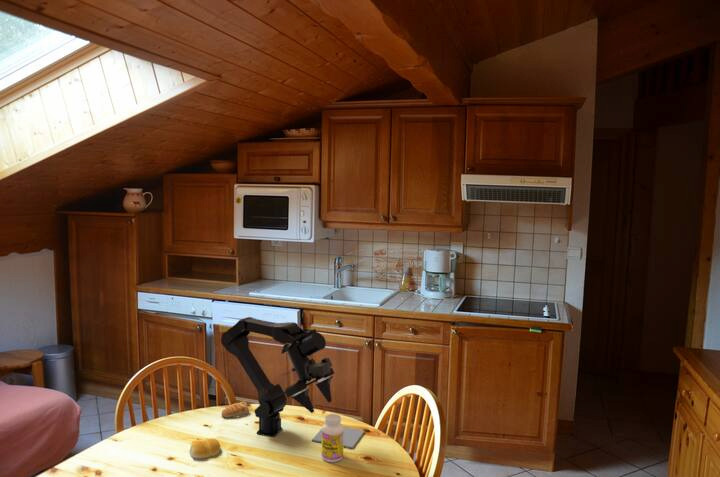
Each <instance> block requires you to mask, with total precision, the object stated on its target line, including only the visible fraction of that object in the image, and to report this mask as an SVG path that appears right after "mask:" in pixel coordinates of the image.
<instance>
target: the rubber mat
mask: <svg viewBox="0 0 720 477" xmlns="http://www.w3.org/2000/svg"><path fill="white" fill-rule="evenodd" d="M343 427H344V442H343V449H344V448H345V449H350V450H353V449H354V448H355V447H356V445H357V443H359V440H360V439H361V438H362V437H363V435H364V434H365V431H366V430H365V429H357V428H353V427H352V428H351V427H345V426H343ZM311 442H313V443H319V444H322V428H321V429H320V430H319V431H318V432H317V433H316V434H315V436H313V437H312V438H311Z"/></svg>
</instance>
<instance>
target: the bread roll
mask: <svg viewBox="0 0 720 477" xmlns="http://www.w3.org/2000/svg"><path fill="white" fill-rule="evenodd" d="M220 449H221V444H220V442H219V440H218V439H216V438H205V439H202V440H196V441H194V442H193V443H191V445H190V448H189V453H190V454H189V455H190V456H191V458H193V459H197V460H198V459H200V460H202V459H206V458H209V457H215V456H216V455H218V454H219V452H220Z"/></svg>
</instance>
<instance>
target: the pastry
mask: <svg viewBox="0 0 720 477" xmlns="http://www.w3.org/2000/svg"><path fill="white" fill-rule="evenodd" d="M249 413H250V409H249V406H248V404H247V402H246V401H240V402H236V403H233V404H231V405H229V406H227V407H226V408H224V409H223V410H222V412H221V416H222V417H224V418H226V419H231V418H238V417H243V415H244V416H246V415H248V414H249Z"/></svg>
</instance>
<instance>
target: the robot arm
mask: <svg viewBox="0 0 720 477" xmlns="http://www.w3.org/2000/svg"><path fill="white" fill-rule="evenodd" d="M251 333H255V334H259V335H263V336H268V337H271V338H272V339H273V340H274V341H275V342H277V343H280V344H282V345H283V348H282V349H281V354H283V355H284V354H286V353H287V355H288V358H289V360H290V361H291V364H292V367H293V368H291V371H292V373H296V375H297V377H298V380H296V383H293V384H291V385H289V386H288V387H285V390H284V389H283V388H282V385H280V384H279V383H277V384H273V383H272V382H271V381H270V379H269V378H268V376H267V375H266V373H265V372H264V369H263V368H262V367H261V366H260V364H259V362H258V360H257V359H256V358H255V356H254V354H253V352H252V350H251V349H250V340H249V338H248V336H249V335H251ZM220 342H221V345H222V347H223V348H224V349H225V350H226V351H227V353H229V354H231V355H233V356H235V357H236V358H237V360H238V362H239V363H240V365H241V366H242V368H243V370H244V371H245V373H246V374H247V376H248V377H249V379H250V381H251V383H252V384H253V386H254V387H255V390H256V391H257V401H258V404H259V405H258V406H257V407H256V408H255V409H254V414H255V418H258V430H257V431H256V434H257V435H261V436H267V437H272V438H273V437H274V438H275V436H277V435H278V433H280V432H281V431H282V430H283V427H282V418H281V413H282V412H283V411H284V409H285V407H286V405H287V400H288V399H287V398H289V397H290V399H291V400H295V401H296V402H297V403H299V404H300V405H301V406H302V407H304V408H305V409H306V410H307V411H308V412H310V413H311V414H313V413H314V412H315V408H314V405H313V403H312V400H311V398H310V396H309V391H310V388H307V387H308V386H310V385H312V384H313V383H316V384H315V385H316V387H317V388H318V390H319V391H320V393H321V395H322V396H323V397H324V399H325V400H326V401H327V402H328V403H331V402H332V393H331V381H332V379H333V378H334V374H335V371H334V369H333V368H332V367H333V364H332V361H331V360H330V358H329V357H323V358H322V359H321V361H319V362H316V361H315V359H314V358H310V356H314V355H315V354H317V353H318V352H320V351H322V350H324V349H326V346H327V341H326V338H325V336H324V335H322V334H321V333H320V332H318V331H317V330H316V328H313V329H311V330H310V331H308V332H307V331H305V330H304V329H303V328H302V327H300V326H299V324H298V323H296V322H293V321H292V322H291V321H290V322H288V321H287V322H280V323H279V322H278V323H277V322H272V321H268V320H267V321H266V320H264V319H263V320H262V319H258V318H253V317H252V316H248V317H244V318H240V319H239V320H238V321H237V322H236V323H235V324H234V325H233V326H231V327H230V328H229V329H228V330H226V331H224V332H222V334H221V338H220Z"/></svg>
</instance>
